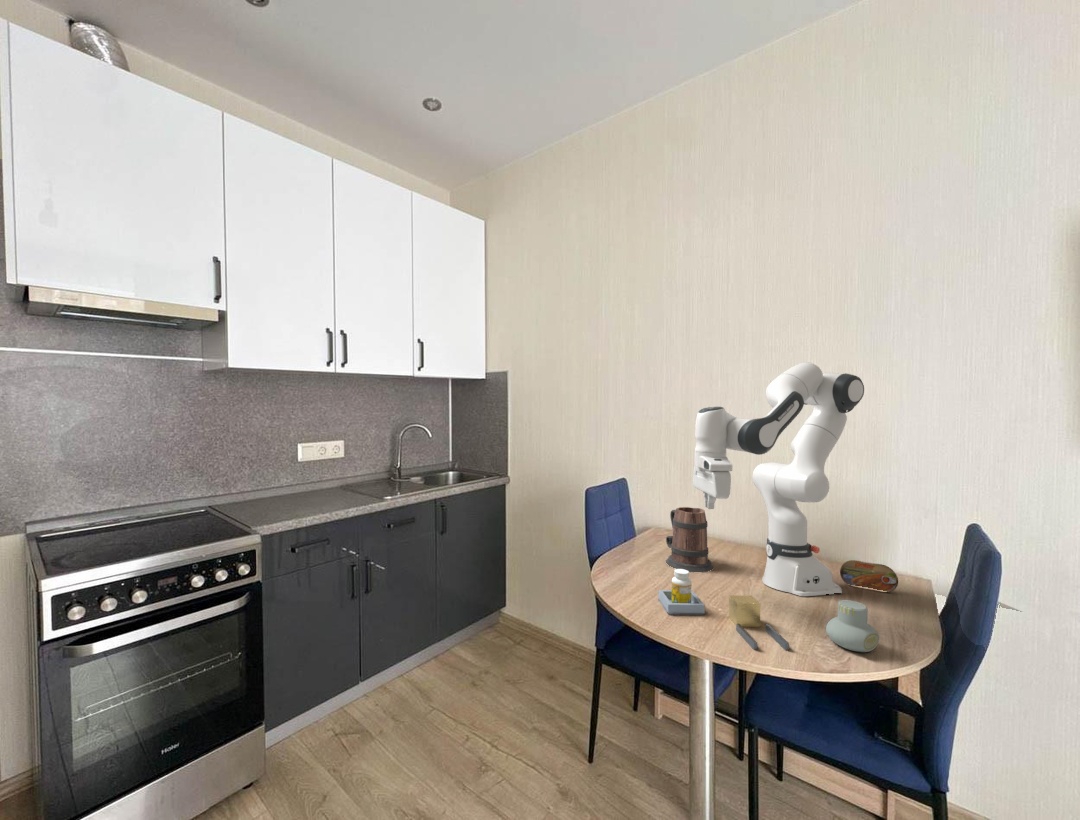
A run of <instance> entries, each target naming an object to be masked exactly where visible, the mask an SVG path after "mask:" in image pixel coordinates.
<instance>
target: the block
mask: <svg viewBox="0 0 1080 820" xmlns="http://www.w3.org/2000/svg"><path fill="white" fill-rule="evenodd" d="M728 598H729V599H728V619H730V620H731V622H732V623H733V624H734V625H735V626H736V624H740V625H741V626H742V627H743V628H744V627H745V628H748V627H749V628H750V627H751V628H752V627H753V628H755V627H757V628H760V627H761V602H759V601H758V600H757V599H756V598H755V597H754V596H753V595H734V594H733V595H732V594H731V595H730V594H729V596H728Z"/></svg>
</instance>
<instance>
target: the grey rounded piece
mask: <svg viewBox="0 0 1080 820" xmlns="http://www.w3.org/2000/svg"><path fill="white" fill-rule="evenodd" d="M868 613H869V611H868V607H867V606H866V605H865V604H863V603H862V602H859V601H856V600H849V599H843V600H839V601H838V602H837V616H834V617H833V618H831V619H830V620H828V622H827V623H826V626H825V633H826V635H827V636H828V637H829V639H830V640H831V641H832V642H834V643H835V644H836V645H838V646H839V647H842V648H843V649H845V650H848V651H851V652H856V653H868V652H871V651H873V650H874V649H875V648H877V646H878V644H879V642H880V634H879V632H878V631H877V630H876V629H875V628H874V627H873V626H872V625H870V624H869V623H868Z"/></svg>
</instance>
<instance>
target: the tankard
mask: <svg viewBox="0 0 1080 820" xmlns="http://www.w3.org/2000/svg"><path fill="white" fill-rule="evenodd" d="M669 513H670V515H669V516H670V523H671V526H672V535H667V536H666V537H665V542H666V545H667V547H668V548H670V550H671V554H670V555H669V556H668V558H666V560H665V561H666V563H667V564H668V565H669V566H668V565H667V564H666V563H665V564H666V565H667V566H668V567H670V566H671V567H673V568H672V569H674V568H676V569H684V570H687V571H689V573H694V572H702V573H708V571H709V572H711V571H713V570H714V569H715V566H714V565H713V563H712V562H711V560H710V559H709V557H708V556H709V547H708V520H707V516H706V510H705V509H703V508H699V507H691V506H689V507H688V506H683V507H681V506H679V507H677V508H676V509H672V510H671V511H670V512H669ZM671 567H670V568H671ZM713 568H714V569H713ZM712 569H713V570H712ZM710 570H711V571H710Z"/></svg>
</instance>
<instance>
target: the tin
mask: <svg viewBox="0 0 1080 820" xmlns="http://www.w3.org/2000/svg"><path fill="white" fill-rule="evenodd" d="M839 575H840V578H841V580H842V581H843V582H844V583H845V584H846V585H847V584H850V585H855V586H862V587H868V588H873V589H877V590H883V591H887V592H888V593H891V592H894V591H895V590H896V589H897V588H898V585H899V577H898V575H897V573H896V572H895V571H894V570H893V568H891V567H889V566H887V565H886V564H885V565H884V564H881V563H874V562H867V561H861V560H855V559H853V560H852V559H851V560H847V561H845V562H843V564H841V566H840V568H839Z"/></svg>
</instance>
